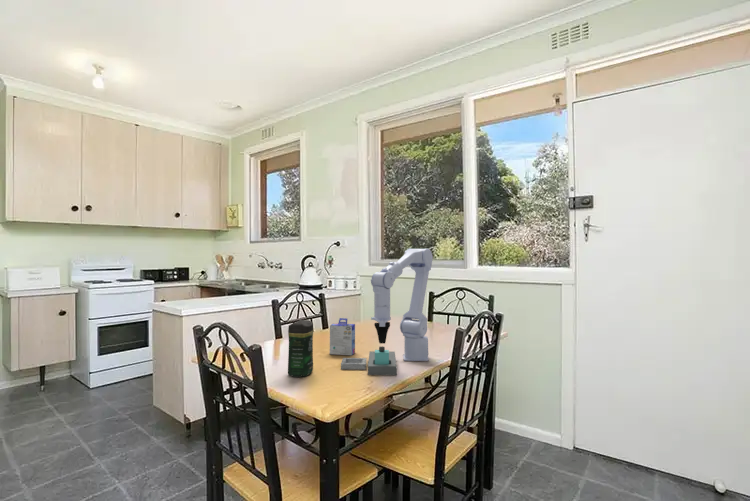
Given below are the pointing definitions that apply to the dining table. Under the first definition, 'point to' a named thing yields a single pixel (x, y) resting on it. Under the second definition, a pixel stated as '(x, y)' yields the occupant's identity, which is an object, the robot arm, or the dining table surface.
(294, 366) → the coffee jar
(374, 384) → the dining table surface
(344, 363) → the grey rectangular frame
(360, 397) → the dining table surface
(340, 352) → the ink cartridge box
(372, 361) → the switch box
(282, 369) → the dining table surface
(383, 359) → the plug
